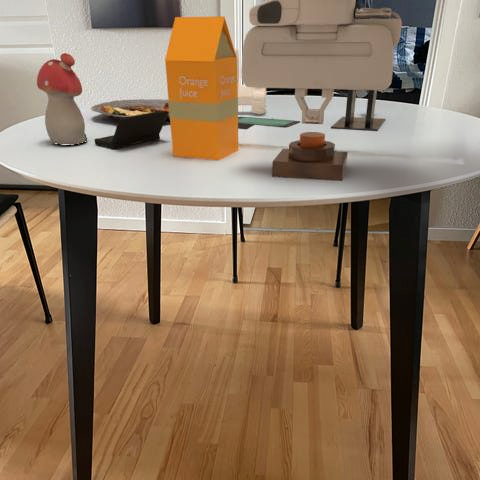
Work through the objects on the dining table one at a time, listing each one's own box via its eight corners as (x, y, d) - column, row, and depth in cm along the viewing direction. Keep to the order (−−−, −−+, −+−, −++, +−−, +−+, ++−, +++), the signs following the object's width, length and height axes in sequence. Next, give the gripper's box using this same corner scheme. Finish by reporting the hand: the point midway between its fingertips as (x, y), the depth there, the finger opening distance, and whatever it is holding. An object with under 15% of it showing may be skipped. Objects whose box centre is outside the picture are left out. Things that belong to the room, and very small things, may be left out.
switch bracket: (342, 122, 107) (347, 56, 101) (384, 125, 104) (393, 56, 98) (330, 133, 98) (335, 60, 91) (376, 136, 95) (386, 61, 88)
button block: (346, 167, 76) (349, 139, 74) (341, 181, 70) (344, 152, 68) (282, 163, 79) (283, 137, 77) (272, 177, 72) (272, 148, 70)
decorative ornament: (97, 144, 93) (82, 52, 85) (63, 149, 89) (45, 55, 81) (74, 136, 99) (59, 50, 91) (42, 141, 95) (23, 52, 87)
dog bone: (266, 110, 123) (267, 73, 118) (265, 116, 115) (265, 77, 111) (206, 110, 124) (204, 74, 119) (201, 116, 116) (199, 78, 112)
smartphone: (239, 115, 110) (301, 120, 104) (239, 121, 111) (301, 126, 104) (221, 120, 105) (285, 126, 98) (222, 127, 105) (285, 132, 99)
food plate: (220, 115, 117) (219, 99, 116) (143, 131, 103) (141, 112, 101) (151, 105, 132) (150, 91, 130) (75, 118, 117) (72, 101, 115)
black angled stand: (130, 125, 99) (145, 84, 91) (156, 150, 99) (174, 111, 91) (88, 144, 92) (101, 102, 84) (117, 172, 92) (132, 132, 84)
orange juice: (195, 146, 90) (187, 17, 79) (239, 150, 87) (237, 16, 76) (172, 156, 84) (160, 17, 73) (218, 161, 81) (213, 16, 70)
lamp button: (325, 144, 74) (326, 132, 73) (322, 150, 71) (323, 137, 70) (301, 143, 74) (302, 131, 73) (297, 149, 71) (298, 136, 70)
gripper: (404, 7, 64) (388, 122, 71) (249, 9, 68) (249, 117, 76) (404, 7, 59) (387, 130, 66) (237, 9, 63) (238, 124, 70)
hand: (312, 123), depth 71 cm, fingers closed
